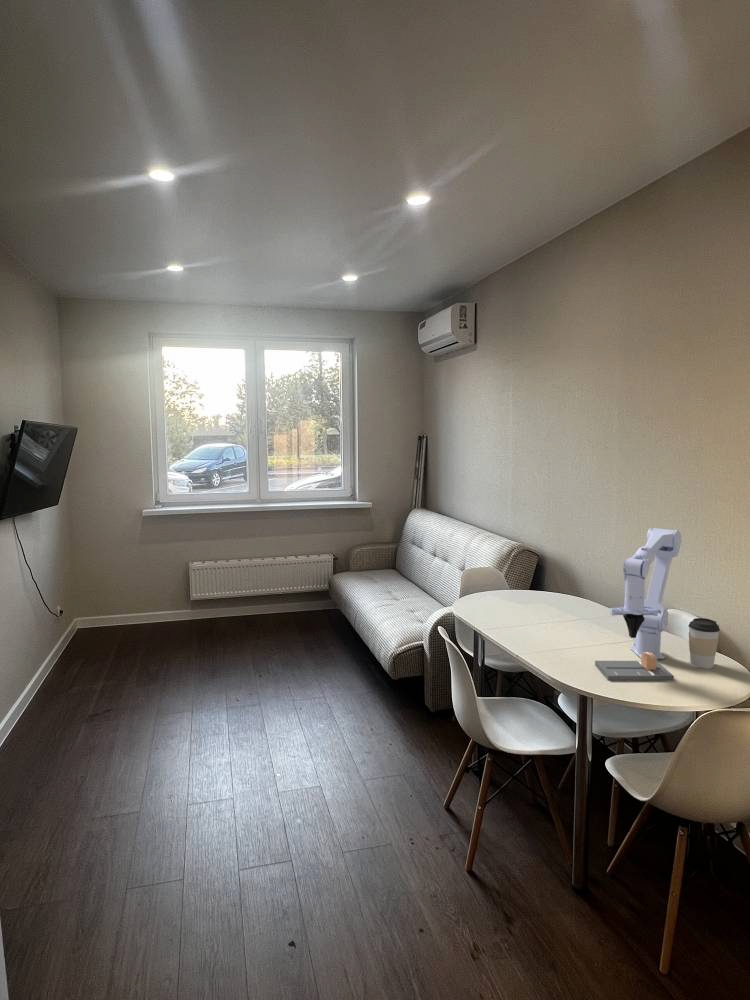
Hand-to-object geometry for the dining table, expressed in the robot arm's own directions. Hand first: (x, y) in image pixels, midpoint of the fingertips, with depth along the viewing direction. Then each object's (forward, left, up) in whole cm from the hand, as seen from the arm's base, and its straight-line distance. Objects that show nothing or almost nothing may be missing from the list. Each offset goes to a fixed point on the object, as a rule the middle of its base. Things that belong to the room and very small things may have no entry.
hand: (632, 636), depth 193 cm
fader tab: (+4, +4, -9) cm, 10 cm away
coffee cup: (-3, +24, -11) cm, 27 cm away
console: (+4, -1, -10) cm, 11 cm away
